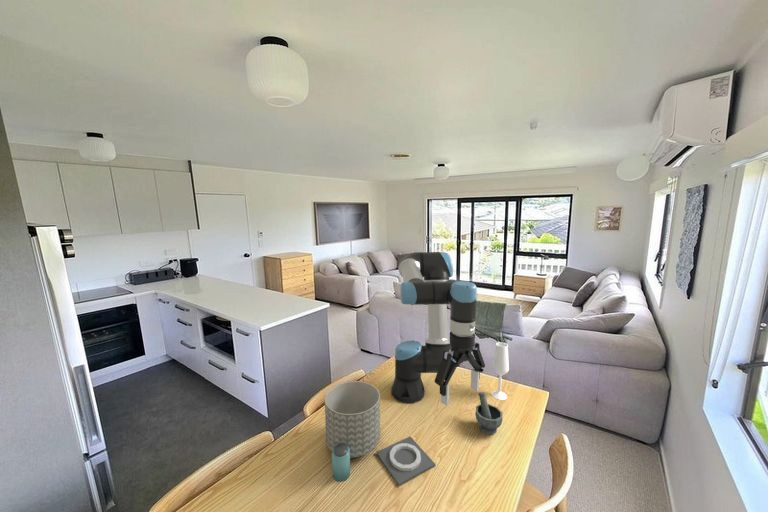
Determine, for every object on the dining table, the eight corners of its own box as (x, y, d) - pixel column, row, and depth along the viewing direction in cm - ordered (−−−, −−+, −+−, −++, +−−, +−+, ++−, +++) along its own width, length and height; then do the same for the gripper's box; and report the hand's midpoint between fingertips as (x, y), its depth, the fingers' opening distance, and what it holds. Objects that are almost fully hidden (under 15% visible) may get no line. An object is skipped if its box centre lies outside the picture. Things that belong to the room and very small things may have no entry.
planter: (387, 431, 110) (387, 386, 107) (367, 473, 92) (367, 420, 90) (342, 420, 116) (340, 377, 114) (315, 456, 98) (313, 407, 96)
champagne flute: (508, 393, 132) (511, 343, 129) (505, 401, 127) (508, 349, 124) (493, 389, 136) (495, 340, 133) (489, 396, 130) (492, 345, 127)
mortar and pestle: (507, 435, 107) (509, 405, 106) (484, 440, 105) (485, 409, 103) (489, 415, 118) (490, 387, 117) (468, 419, 116) (469, 391, 114)
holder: (376, 454, 99) (376, 449, 99) (410, 438, 106) (410, 433, 106) (399, 486, 87) (399, 481, 87) (435, 466, 94) (435, 461, 94)
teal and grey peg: (330, 471, 93) (329, 446, 92) (346, 463, 95) (345, 439, 94) (336, 484, 88) (335, 459, 87) (353, 476, 91) (352, 451, 90)
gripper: (441, 346, 80) (439, 417, 83) (498, 327, 93) (495, 389, 96) (423, 337, 86) (422, 403, 89) (479, 320, 100) (476, 378, 103)
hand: (460, 396), depth 93 cm, fingers open, 13 cm apart
